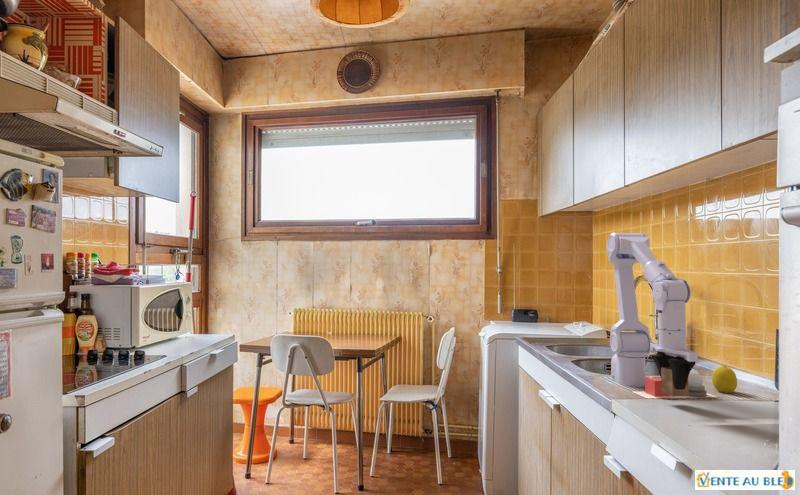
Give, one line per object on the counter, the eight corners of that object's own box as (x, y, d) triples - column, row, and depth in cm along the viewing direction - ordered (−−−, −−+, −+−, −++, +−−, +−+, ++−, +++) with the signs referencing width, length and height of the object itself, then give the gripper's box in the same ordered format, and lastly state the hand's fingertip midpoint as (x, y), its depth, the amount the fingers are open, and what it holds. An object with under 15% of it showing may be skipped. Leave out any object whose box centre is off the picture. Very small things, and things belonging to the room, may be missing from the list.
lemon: (726, 398, 120) (725, 367, 121) (707, 393, 126) (706, 363, 126) (743, 397, 122) (742, 366, 122) (723, 392, 127) (722, 362, 127)
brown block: (661, 392, 113) (661, 367, 113) (677, 391, 113) (676, 367, 114) (672, 396, 109) (671, 370, 109) (688, 396, 109) (687, 370, 110)
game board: (631, 395, 123) (631, 387, 123) (699, 394, 125) (699, 386, 125) (673, 414, 107) (672, 405, 107) (750, 412, 108) (750, 404, 108)
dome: (674, 386, 124) (674, 368, 124) (694, 386, 124) (694, 368, 124) (689, 392, 118) (688, 372, 118) (710, 391, 119) (709, 372, 119)
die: (645, 392, 122) (645, 375, 122) (659, 392, 123) (659, 375, 123) (654, 396, 118) (654, 378, 118) (669, 396, 119) (669, 378, 119)
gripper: (638, 326, 119) (639, 379, 118) (676, 333, 104) (677, 394, 104) (664, 326, 119) (665, 379, 119) (705, 333, 105) (707, 394, 104)
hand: (673, 386), depth 111 cm, fingers closed on brown block, 4 cm apart
